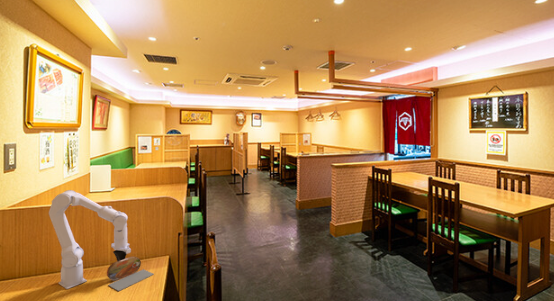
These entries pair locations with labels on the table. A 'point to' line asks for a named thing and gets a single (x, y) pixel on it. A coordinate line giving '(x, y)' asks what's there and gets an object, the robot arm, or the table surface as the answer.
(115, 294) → the table surface
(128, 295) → the table surface
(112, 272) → the tin
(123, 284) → the slate mat
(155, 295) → the table surface
